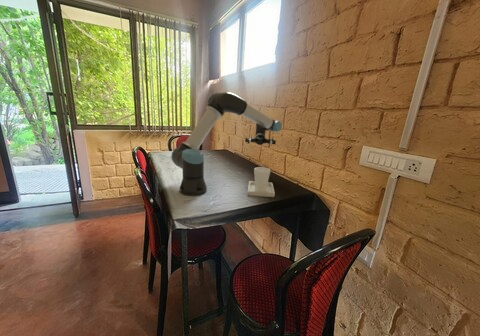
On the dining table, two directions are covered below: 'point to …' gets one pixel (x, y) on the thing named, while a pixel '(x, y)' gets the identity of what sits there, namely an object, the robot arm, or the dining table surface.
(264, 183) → the foam cup
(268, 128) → the robot arm
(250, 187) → the tray
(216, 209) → the dining table surface
